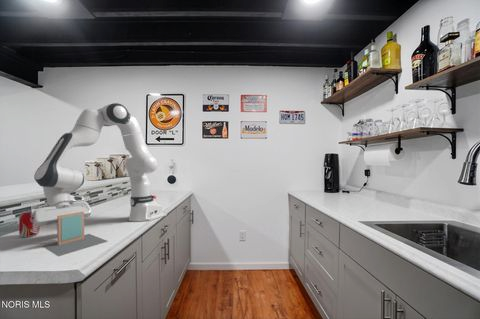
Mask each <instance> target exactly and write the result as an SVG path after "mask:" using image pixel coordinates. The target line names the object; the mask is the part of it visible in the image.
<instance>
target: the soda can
mask: <svg viewBox="0 0 480 319" xmlns="http://www.w3.org/2000/svg"><path fill="white" fill-rule="evenodd" d="M31 210H32V209H29V210H23V211H21V212H20V214H19V219H18V234H19V237H20V238H25V239H26V238H31V237H36V236H37V235H38V234H40V227H41V226H40V227H37V226H35V225H34V216H33V215H32V214H31Z"/></svg>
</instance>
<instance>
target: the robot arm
mask: <svg viewBox="0 0 480 319" xmlns="http://www.w3.org/2000/svg"><path fill="white" fill-rule="evenodd" d="M112 126H117V127H118V129H119V130H120V133H121V137H122V140H123V144H124V147H125V148H124V149H125V150H126V151H128V153H129V154H130V156H131V157H129V158H127V159H126V161H125V163H124V167H125V170H126V171H127V173H128V178H129V181H130V188H131V189H130V194H131V196H130V199H129V200H130V203H129V204H130V211H129V217H128V221H129V222H146V221H153V220H156V219H159V218H162V217H165V216H167V215H168V213H167V212H164V209H163V206H162V205H161V204H159V203H158V202H157V201H155V200H154V199H157V198H158V196H157V195H156V194H155V195H152V188H151V187H152V184H151V181H150V180H149V178H148V176H147V175H148V174H151V173H154V172H155V171H156V170H157V168H158V166H159V164H158V160H157V158H156V157H154V156H153V155H152V153H151V152H150V151H149V148H148V147H147V144H146V143H145V139H144V135H143V132H142V129H141V125H140V123H139V121H138V119H137V118H136V117H135V116H133V115H131V113H130V112H129V110H128V109H127V108H126V107H125V105H123V104H121V103H117V102H116V103H115V102H114V103H111V104H107V105H104V106H103V107H102V108H99V109H98V110H96V109H92V108H86V109H84V110H82V112H81V113H80V115H78V118H77V120H76V121H75V124H74V126H73V128H72V130H70V131H69V132H66V133H63V135H61V137H59V139H58V140H57V141H56V143H55V145H54V146H53V147H52V149H51V150H50V152H49V154H48V155H47V157H46V159H45V160H44V161H43V163H42V164H40V166H39V167H38V168H37V169H36V170H35V173H34V176H33V177H34V180H35V182H36V183H37V185H39V186H40V187H42V190H43V195H44V196H45V197H46V204H47V205H43V206H35V207H33V208H32V209H30V210H31V214H32V215H33V216H34V225H35V226H37V227H44V226H45V227H46V226H51V225H55V224H56V225H57V216H58V215H64V214H70V213H76V212H82V211H83V212H84V219H86V218H90V216H91V214H92V208H91V206H90V204H89V202H87V201H85V197H84V196H79V195H72V193H73V192H74V193H75V191H77V190H78V189H80V188H81V187H82V186H83V185H84V183H85V176H84V173H83V171H81V170H76V169H73V168H67V167H63V166H61V165H60V164H61V163H62V161H63V159H64V158H65V156H66V154H67V153H68V152H69V150H70V149H72V148H76V147H77V148H78V147H90V146H93V145H94V144H96V143H97V141H98V140H99V138H100V136H101V132H102V128H103V127H112Z"/></svg>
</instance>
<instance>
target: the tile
mask: <svg viewBox="0 0 480 319" xmlns="http://www.w3.org/2000/svg"><path fill="white" fill-rule="evenodd" d="M56 225H57V226H56V230H57V231H56V232H57V233H56V234H57V239H56V240H57V241H56V242H57V244H58V245H61V244H65V243H69V242H73V241H76V240H80V239H84V235H85V218H84V212H83V211H82V212H76V213H70V214H64V215H58V216H57V223H56Z"/></svg>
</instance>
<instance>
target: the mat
mask: <svg viewBox="0 0 480 319" xmlns="http://www.w3.org/2000/svg"><path fill="white" fill-rule="evenodd" d="M107 242H109V240H107V239H104V238H102V237H98V236H96V235H93V234H91V233H87V234H84V239H80V240H76V241H73V242H69V243H65V244H61V245H58V244H57V241H56V242H52V243H48V244H45V245H44V244H43V245H42V247H43V248H44V249H46V250H47V251H49V252H51V254H54V255H56V257H61V256H65V255H67V254H72V253H74V252H77V251H81V250H84V249H87V248H91V247H95V246H98V245H101V244H103V243H104V244H105V243H107Z"/></svg>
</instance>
